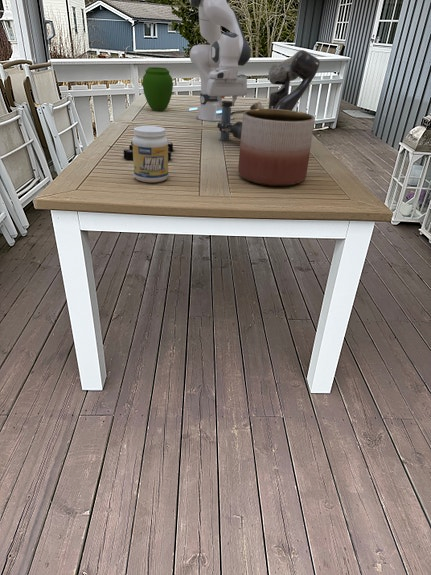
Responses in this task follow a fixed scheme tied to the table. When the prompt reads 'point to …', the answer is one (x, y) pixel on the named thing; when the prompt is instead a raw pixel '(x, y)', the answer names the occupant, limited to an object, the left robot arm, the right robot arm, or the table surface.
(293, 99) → the right robot arm
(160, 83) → the vase
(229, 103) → the lid
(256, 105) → the seashell
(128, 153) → the black printed glove
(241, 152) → the planter
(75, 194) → the table surface
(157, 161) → the supplement tub
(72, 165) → the table surface
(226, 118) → the dark grey cylinder
